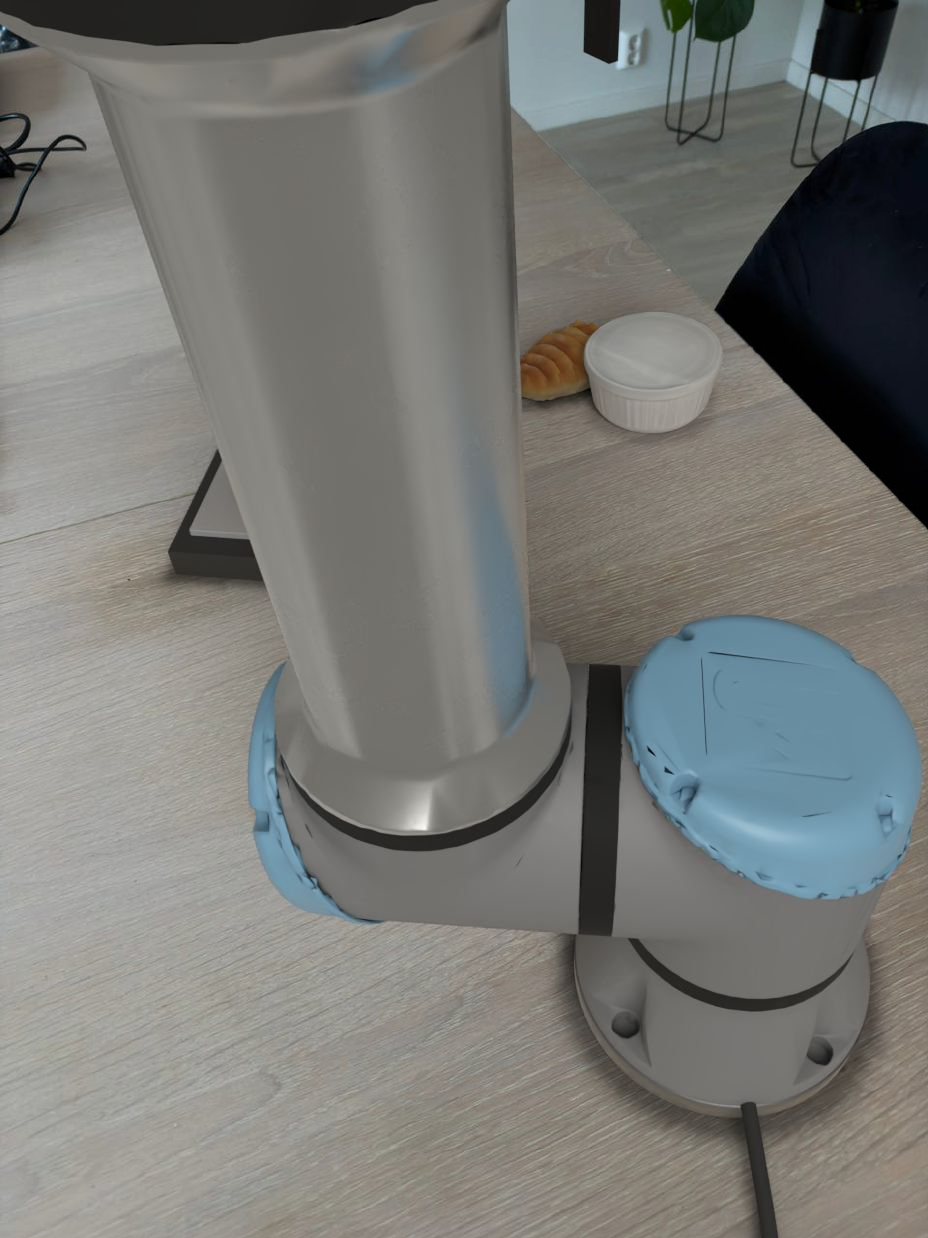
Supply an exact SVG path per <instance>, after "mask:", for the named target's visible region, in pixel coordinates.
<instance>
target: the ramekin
mask: <svg viewBox="0 0 928 1238" xmlns="http://www.w3.org/2000/svg"><path fill="white" fill-rule="evenodd" d="M599 327H600V328H598V329H597V330H596V331H595V332H594V333H593V334H592V335H591V336H590V337H589V339H588V340H587V342H586V345H585V348H584V366H585V369H586V371H587V373H588V376H589V382H590V391H591V396H592V401H593V404H594V405H595V408H596V409H597V411H598V413H600V414H601V416H603V418H605V419H606V420H607V421H609V422H610V423H611V424H613V425H615V426H616V427H618V428H621V429H623V430H626V431H629V432H634V433H638V434H663V433H664V434H665V433H669V432H672V431H676V430H679V429H681V428H683V427H685V426H687V425H689V424H691V422H693V421H694V420H695V419H697V418H698V417H699V415H701V414H702V412H703V411H704V410H705V409H706V407H707V405H708V404H709V400H710V397H711V394H712V392H713V389H714V385H715V382H716V378H717V376H718V374H719V373H720V371H721V368H722V366H723V362H724V361H723V360H724V349H723V344H722V342H721V341H722V340H720V338H719V336H718V335H717V334H716V333H715V332H714V331H713V330H712V329H711V328H710V327H709V326H707V325H705V324H704V323H702V322H700V321H698V320H696V319H694V318H691V317H688V316H685V315H681V314H676V313H674V312H667V311H665V312H664V311H643V312H636V313H631V314H626V315H624V316H619V317H617V318H614V319H612V320H609V321H608V322H606V323H604V324H602V325H601V326H599Z"/></svg>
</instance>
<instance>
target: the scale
mask: <svg viewBox="0 0 928 1238" xmlns="http://www.w3.org/2000/svg"><path fill="white" fill-rule="evenodd" d="M209 463H210V464H209V466H208V468H207V470H205V471H206V472H205V474H204V475H203V478H202V480H201V481H200V483H199V486H198V488H197V489H196V492H195V494H194V496H193V498H192V500H191V503H190V505H189V507H188V509H187V510H186V513H185V515H184V517H183V519H182V521H181V523H180V525H179V527H178V529H177V531H176V534H175V536H174V538H173V540H172V542H171V544H170V546H169V548H168V549H167V555H169V556H168V557H169V559H170V562H171V564H172V568H173V570H174V573H175V575H182V576H192V577H193V576H194V577H206V578H207V577H209V578H218V579H219V578H222V579H234V580H245V581H259V582H260V581H261V582H264V580H263V577H262V574H261V571H260V568H259V565H258V562H257V560H256V557H255V554H254V551H253V548H252V545H251V542H250V539H249V536H248V534H247V531H246V528H245V525H244V522H243V519H242V516H241V513H240V511H239V508H238V505H237V502H236V500H235V497H234V495H233V492H232V489H231V487H230V484H229V480H228V477H227V474H226V470H225V467H224V464H223V461H222V459H221V456H220V453H219V450H218V448H217V449H216V451H215V453H214V455H213V457H212V459H211V461H210V462H209Z"/></svg>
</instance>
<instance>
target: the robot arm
mask: <svg viewBox="0 0 928 1238" xmlns="http://www.w3.org/2000/svg"><path fill="white" fill-rule="evenodd" d="M621 1H622V0H584V1H583V2H584V4H583V6H584V7H583V48H582V52H583V53H584V54H586V55H588V56H590V57H593V58H595V59H597V60H599V61H602V62H603V63H605V64H608V65H611V64H614V63H616V62H619V46H620V23H621V5H622V4H621ZM510 2H511V0H0V25H1V26H2V27H4V28H5V29H7V30H8V31H10V32H11V33H13V34H14V35H17V36H18V37H21V38H22V39H24V40H26V41H28V42H29V43H32V44H34V45H36V46H37V47H39V48H41V49H42V50H43V49H44V50H45V51H47V52H49V53H50V54H53V55H55V56H56V57H58V58H60V59H62V60H64V61H66V62H68V63H70V64H72V65H74V66H75V67H77V68H79V69H81V70H83V71H85V72H86V73H87V74H88V77H89V80H90V83H91V86H92V89H93V92H94V94H95V98H96V100H97V104H98V106H99V110H100V112H101V115H102V118H103V121H104V124H105V126H106V129H107V133H108V135H109V138H110V141H111V143H112V146H113V147H112V148H113V149H114V152H115V156H116V159H117V161H118V164H119V167H120V170H121V172H122V177H123V179H124V181H125V184H126V188H127V190H128V192H129V196H130V199H131V201H132V204H133V207H134V209H135V210H134V211H135V213H136V216H137V219H138V221H139V225H140V227H141V231H142V233H143V236H144V239H145V243H146V245H147V248H148V250H149V254H150V256H151V259H152V262H153V265H154V268H155V271H156V274H157V276H158V279H159V283H160V286H161V289H162V291H163V294H164V297H165V299H166V303H167V305H168V308H169V310H170V314H171V317H172V321H173V323H174V325H175V329H176V331H177V335H178V338H179V340H180V343H181V346H182V348H183V349H182V350H183V352H184V354H185V357H186V360H187V363H188V366H189V370H190V371H191V375H192V378H193V380H194V384H195V386H196V389H197V392H198V395H199V398H200V401H201V403H202V406H203V409H204V412H205V415H206V419H207V421H208V424H209V427H210V430H211V434H212V435H213V438H214V441H215V444H216V447H217V449H218V450H219V453H220V456H221V459H222V461H223V464H224V467H225V470H226V473H227V476H228V479H229V482H230V485H231V487H232V490H233V493H234V496H235V499H236V502H237V505H238V508H239V511H240V513H241V516H242V519H243V522H244V525H245V528H246V531H247V534H248V536H249V539H250V542H251V545H252V548H253V551H254V554H255V557H256V560H257V562H258V565H259V568H260V571H261V574H262V577H263V580H264V581H263V582H264V585H265V588H266V591H267V594H268V597H269V600H270V603H271V604H272V608H273V612H274V614H275V618H276V620H277V623H278V627H279V630H280V631H281V634H282V637H283V641H284V644H285V646H286V649H287V652H288V655H289V657H288V659H286V661H284V662H282V663H281V664H280V665H279V666H278V667H277V668H275V670H274V671H273V672H272V674H271V676H270V677H269V679H268V680H267V683H266V684H265V686H264V687H263V690H262V692H261V694H260V697H259V700H258V702H257V706H256V710H255V714H254V718H253V721H252V722H253V723H252V727H251V733H250V736H249V737H250V738H249V746H248V756H247V793H248V794H247V795H248V806H249V807H250V808H251V809H254V811H255V821H254V824H253V828H252V834H253V835H252V836H253V840H254V843H255V847H256V850H257V854H258V856H259V859H260V862H261V865H262V868H263V869H264V871H265V874H266V876H267V877H268V879H269V881H270V882H271V884H272V885H273V887H274V888H275V889H276V891H277V892H278V894H280V896H281V897H282V898H284V899H285V900H286V901H287V902H288V903H290V904H291V905H293V907H296V908H297V909H300V910H302V911H304V912H307V913H310V914H316V915H321V916H326V917H332V918H338V919H342V920H344V921H346V922H349V923H352V924H357V925H381V924H383V923H386V922H395V923H396V922H397V923H411V924H424V925H425V924H427V925H440V926H452V927H453V926H454V927H455V926H456V927H466V928H467V927H468V928H469V927H470V928H482V929H495V930H498V929H499V930H509V931H510V930H511V931H522V932H523V931H525V932H538V933H553V934H567V935H575V937H574V947H573V949H574V951H573V952H574V953H573V973H574V984H575V988H576V993H577V997H578V1001H579V1005H580V1007H581V1011H582V1014H583V1015H584V1019H585V1020H586V1022H587V1024H588V1026H589V1029H590V1031H591V1032H592V1034H593V1036H594V1037H595V1039H596V1041H597V1042H598V1044H599V1046H601V1048H602V1049H603V1051H604V1052H605V1053H606V1054H607V1056H608V1057H609V1058H610V1059H611V1060H612V1061H613V1062H614V1064H615V1065H616V1066H617V1067H618V1068H619V1069H620V1070H621V1071H622V1072H623V1073H625V1074H626V1076H628V1077H629V1078H630V1080H632V1081H634V1082H635V1083H636V1084H637V1085H639V1086H640V1087H642V1088H643V1089H644V1090H646V1091H648V1092H649V1093H651V1094H652V1095H654V1096H656V1097H658V1098H660V1099H661V1100H664V1101H665V1102H667V1103H670V1104H672V1105H674V1106H677V1107H680V1108H682V1109H684V1110H688V1111H692V1112H695V1113H698V1114H701V1115H707V1116H713V1117H721V1118H729V1119H730V1118H732V1119H734V1118H736V1119H737V1118H739V1119H740V1118H742V1123H743V1128H744V1129H743V1130H744V1135H745V1140H746V1147H747V1153H748V1159H749V1164H750V1171H751V1176H752V1177H751V1178H752V1183H753V1188H754V1194H755V1201H756V1207H757V1213H758V1220H759V1228H760V1236H761V1238H779V1232H778V1225H777V1219H776V1212H775V1206H774V1201H773V1200H774V1199H773V1194H772V1189H771V1183H770V1182H771V1181H770V1178H769V1171H768V1170H769V1169H768V1166H767V1161H766V1160H767V1158H766V1154H765V1148H764V1142H763V1137H762V1131H761V1125H760V1119H759V1117H762V1116H767V1115H771V1114H775V1113H779V1112H782V1111H784V1110H789V1109H790V1108H793V1107H795V1106H797V1105H799V1104H801V1103H803V1102H805V1101H807V1100H808V1099H811V1098H812V1097H814V1096H815V1095H816V1094H817V1093H818V1092H820V1091H821V1090H822V1089H823V1088H825V1087H826V1086H827V1085H828V1084H829V1083H830V1082H832V1080H833V1079H834V1078H835V1077H836V1076H837V1075H838V1074H839V1072H840V1071H841V1070H842V1069H843V1067H844V1066H845V1064H846V1062H847V1061H848V1059H849V1058H850V1056H851V1055H852V1052H853V1051H854V1049H855V1047H856V1045H857V1043H858V1042H859V1039H860V1036H861V1034H862V1032H863V1030H864V1026H865V1023H866V1020H867V1017H868V1012H869V1008H870V1000H871V968H870V960H869V955H868V950H867V945H866V942H865V938H864V932H865V930H866V928H867V926H868V924H869V921H870V919H871V917H872V915H873V914H874V911H875V909H876V907H877V905H878V903H879V901H880V898H881V896H882V894H883V892H884V889H885V888H886V885H887V883H888V881H889V879H890V877H891V876H892V875H893V873H894V872H895V871H896V869H898V867H899V866H900V865H901V863H902V862H903V860H904V858H905V856H906V855H907V851H908V849H909V847H910V843H911V840H912V839H911V838H912V834H913V824H914V823H913V822H914V816H915V813H916V810H917V807H918V804H919V802H920V798H921V793H922V786H923V785H922V784H923V773H924V772H923V760H922V754H921V749H920V744H919V740H918V736H917V734H916V731H915V727H914V726H913V723H912V721H911V719H910V717H909V715H908V713H907V711H906V709H905V707H904V706H903V704H902V703H901V701H900V700H899V698H898V697H897V695H896V694H895V692H894V691H893V689H892V688H891V687H890V686H889V684H887V683H886V681H885V680H883V678H882V677H881V676H880V675H879V674H878V673H877V672H876V671H875V670H872V669H871V668H868V667H865V666H863V665H861V664H860V663H859V662H857V661H856V660H855V657H854V654H853V652H851V650H849V649H848V648H846V647H845V646H843V645H841V644H840V643H839V642H836V641H835V640H833V639H831V638H829V637H828V636H826V635H825V634H822V633H820V632H817V631H816V630H813V629H811V628H808V627H806V626H804V625H800V624H797V623H794V622H791V621H788V620H783V619H779V618H774V617H768V616H763V615H762V616H761V615H755V614H754V615H752V614H723V615H716V616H715V615H714V616H709V617H704V618H700V619H696V620H694V621H691V622H688V623H686V624H684V625H682V626H681V628H680V630H679V632H678V633H677V634H676V635H675V636H672V635H665V636H663V637H661V638H660V639H659V640H657V642H656V643H654V645H653V646H651V647H650V648H649V650H648V651H647V652H646V653H645V655H644V656H643V657H642V659H641V660H639V663H638V665H629V664H627V665H624V664H607V663H605V664H604V663H582V662H581V663H580V662H579V663H578V662H566V660H565V657H564V655H563V652H562V649H561V648H560V647H561V646H559V644H558V642H557V641H556V640H555V638H554V636H553V634H552V633H551V632H550V631H549V629H548V628H547V627H546V625H545V624H544V622H542V621H541V620H540V619H539V618H538V617H537V616H536V615H535V614H534V613H532V611H530V590H529V589H530V587H529V585H530V584H529V568H528V567H529V561H528V536H527V535H528V534H527V533H528V532H527V509H526V508H527V507H526V484H525V458H524V457H525V456H524V455H525V454H524V430H523V428H524V427H523V403H522V396H521V373H520V360H521V352H520V351H521V349H520V325H519V323H520V322H519V297H518V271H517V269H518V268H517V244H516V243H517V242H516V241H517V239H516V215H515V214H516V213H515V190H514V164H513V138H512V137H513V135H512V111H511V110H512V109H511V85H510V83H511V82H510V58H509V56H510V55H509V54H510V53H509V31H508V30H509V29H508V4H509V3H510Z"/></svg>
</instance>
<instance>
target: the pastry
mask: <svg viewBox="0 0 928 1238" xmlns="http://www.w3.org/2000/svg"><path fill="white" fill-rule="evenodd" d="M600 327H601V326H599V325H598V324H597V323H594V322H592V321H583V320H580V319H578V320H576V321H575V322H573V323H570V324H569V325H568V326H566V327H564V328H562V329H558V330H554V331H552V332H551V333H547V334H545V335H543V336H541V338H539V340H538V341H537V342H535V344H533V346H531V347H530V348H529V349H528V350H527V352H526V353H525V354H523V355H522V357H520V373H521V397H523V398H526V399H529V400H533V401H542V402H545V401H547V400H548V401H553V400H555V399H556V398H560V397H570V396H572V395H576V394H578V393H580V392H583V391H586V390H588V389H591V387H590V382H589V376H588V373H587V371H586V369H585V366H584V348H585V345H586V342H587V340H588V339H589V337H590V336H591V335H592V334H593V333H594V332H595V331H596V330H597V329H598V328H600Z"/></svg>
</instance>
